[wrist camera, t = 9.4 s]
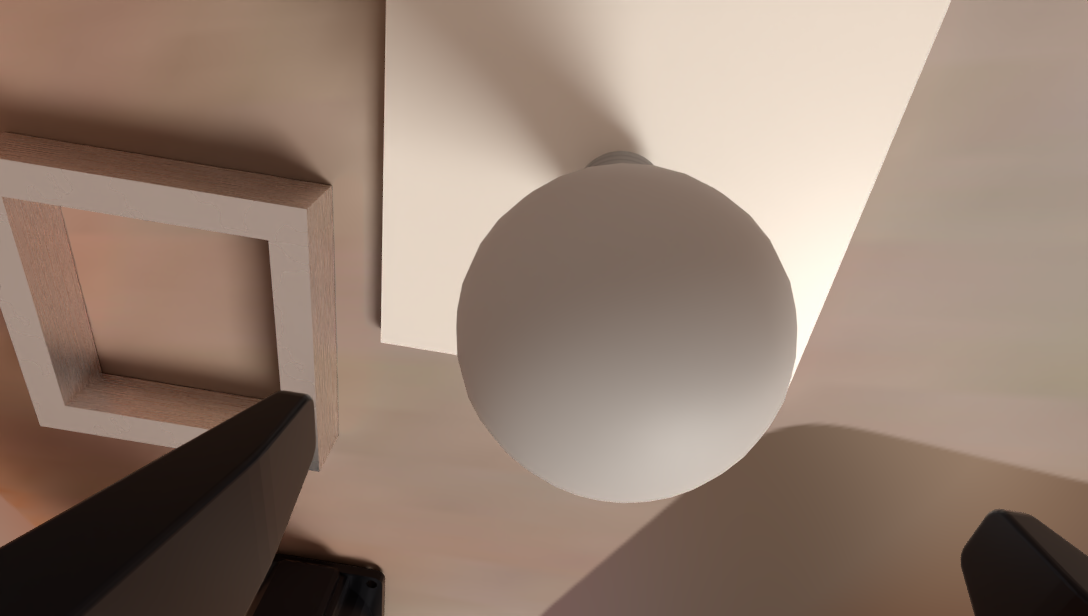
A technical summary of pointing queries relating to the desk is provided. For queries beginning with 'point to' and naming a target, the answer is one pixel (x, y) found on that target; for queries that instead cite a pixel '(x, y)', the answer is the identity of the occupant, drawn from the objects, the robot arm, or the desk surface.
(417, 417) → the desk surface
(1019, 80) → the desk surface
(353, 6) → the desk surface
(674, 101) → the mat
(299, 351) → the grey flat square frame
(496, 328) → the lightbulb
